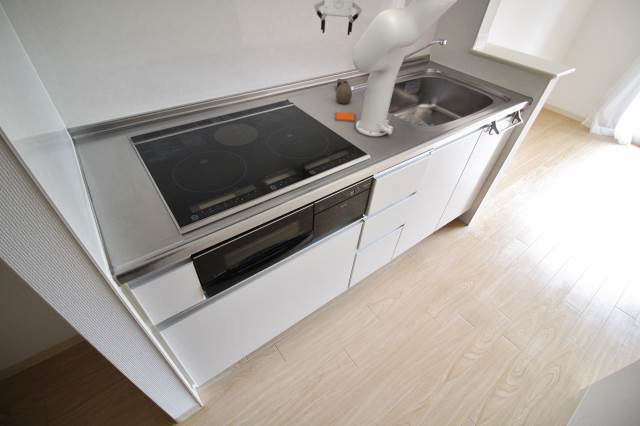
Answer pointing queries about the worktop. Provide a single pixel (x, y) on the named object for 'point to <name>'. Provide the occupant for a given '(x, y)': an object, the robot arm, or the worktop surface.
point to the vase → (344, 93)
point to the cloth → (345, 116)
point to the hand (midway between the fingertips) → (335, 33)
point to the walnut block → (340, 82)
